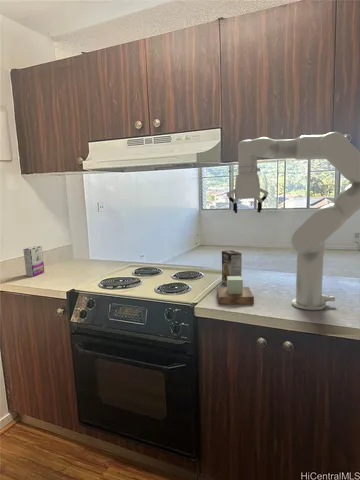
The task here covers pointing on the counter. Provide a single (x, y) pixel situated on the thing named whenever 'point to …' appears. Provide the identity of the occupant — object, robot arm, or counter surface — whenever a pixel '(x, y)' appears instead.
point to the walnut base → (235, 296)
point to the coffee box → (231, 264)
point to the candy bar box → (33, 261)
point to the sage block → (234, 285)
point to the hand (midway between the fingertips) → (247, 212)
